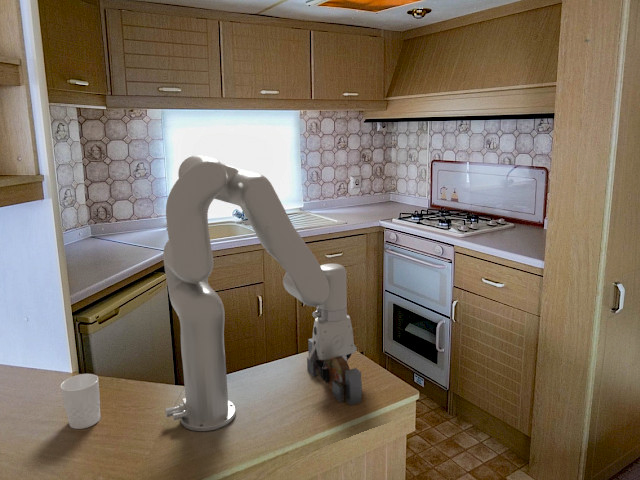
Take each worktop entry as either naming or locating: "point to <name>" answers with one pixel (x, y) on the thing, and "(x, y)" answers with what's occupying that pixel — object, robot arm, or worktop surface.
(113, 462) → the worktop surface
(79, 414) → the white cup
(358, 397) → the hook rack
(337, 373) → the tin
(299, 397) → the worktop surface
